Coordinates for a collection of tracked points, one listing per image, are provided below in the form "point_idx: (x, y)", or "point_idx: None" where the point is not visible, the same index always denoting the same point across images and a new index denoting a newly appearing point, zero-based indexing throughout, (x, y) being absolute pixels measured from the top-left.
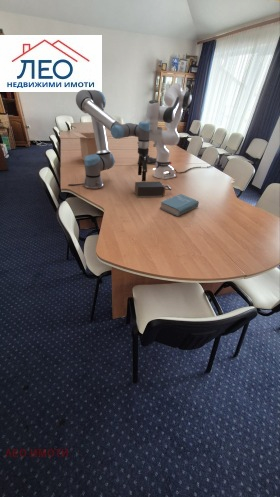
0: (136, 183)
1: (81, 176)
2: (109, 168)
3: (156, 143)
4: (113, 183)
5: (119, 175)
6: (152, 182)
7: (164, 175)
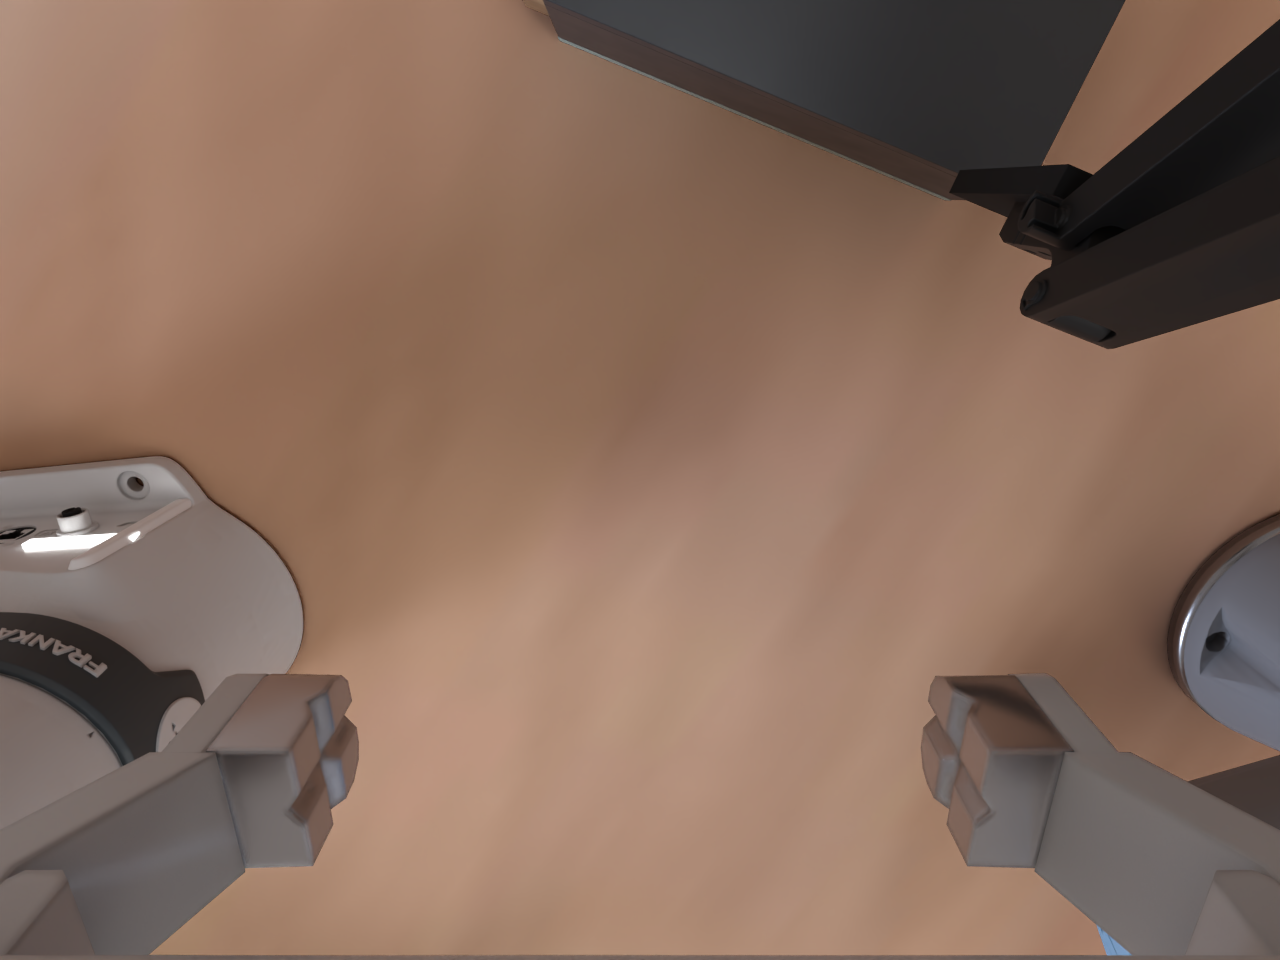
0: (1062, 110)
1: None
2: None
3: (108, 800)
4: (1014, 600)
5: (762, 812)
6: (729, 17)
7: (141, 518)
